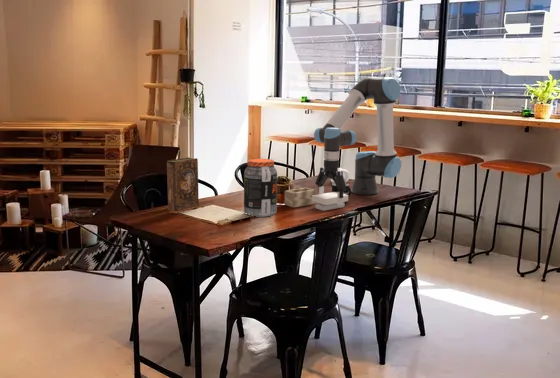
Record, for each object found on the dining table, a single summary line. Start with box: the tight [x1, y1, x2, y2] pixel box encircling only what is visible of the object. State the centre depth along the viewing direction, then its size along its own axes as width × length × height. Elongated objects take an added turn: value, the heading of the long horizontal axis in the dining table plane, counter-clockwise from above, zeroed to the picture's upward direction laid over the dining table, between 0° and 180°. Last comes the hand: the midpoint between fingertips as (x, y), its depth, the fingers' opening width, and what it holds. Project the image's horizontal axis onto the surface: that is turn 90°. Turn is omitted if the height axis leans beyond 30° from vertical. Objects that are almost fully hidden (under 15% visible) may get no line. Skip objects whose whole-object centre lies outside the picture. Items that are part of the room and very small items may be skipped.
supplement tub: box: [243, 158, 278, 218], centre depth 272 cm, size 16×16×26 cm
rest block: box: [314, 202, 346, 212], centre depth 285 cm, size 14×6×3 cm, turn 128°
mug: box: [331, 182, 352, 204], centre depth 297 cm, size 12×9×10 cm
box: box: [284, 187, 316, 208], centre depth 291 cm, size 14×7×8 cm, turn 128°
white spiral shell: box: [330, 167, 350, 184], centre depth 349 cm, size 11×12×9 cm
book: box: [166, 156, 200, 211], centre depth 276 cm, size 16×6×25 cm, turn 145°
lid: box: [312, 191, 349, 205], centre depth 284 cm, size 15×10×4 cm, turn 128°
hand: (330, 201), depth 285 cm, fingers open, 13 cm apart
